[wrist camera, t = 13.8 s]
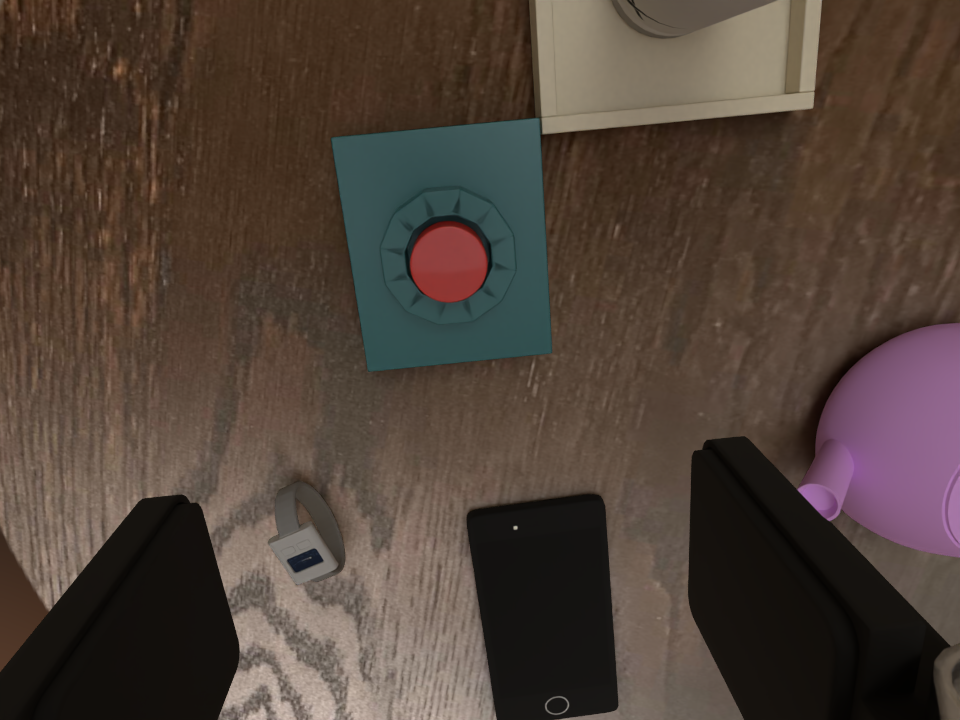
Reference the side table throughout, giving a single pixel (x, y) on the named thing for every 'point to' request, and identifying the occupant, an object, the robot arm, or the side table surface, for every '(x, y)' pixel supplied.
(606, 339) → the side table surface
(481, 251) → the button
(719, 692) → the side table surface
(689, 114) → the tray
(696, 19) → the travel mug
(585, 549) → the cell phone
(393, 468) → the side table surface
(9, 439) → the side table surface
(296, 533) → the wristwatch
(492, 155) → the block
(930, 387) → the teapot
